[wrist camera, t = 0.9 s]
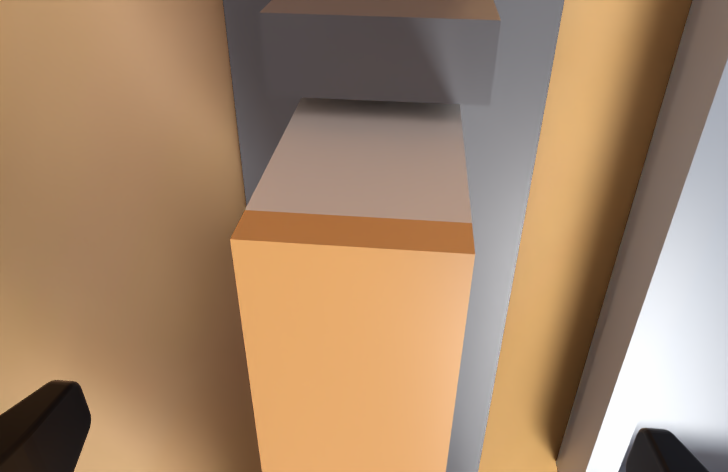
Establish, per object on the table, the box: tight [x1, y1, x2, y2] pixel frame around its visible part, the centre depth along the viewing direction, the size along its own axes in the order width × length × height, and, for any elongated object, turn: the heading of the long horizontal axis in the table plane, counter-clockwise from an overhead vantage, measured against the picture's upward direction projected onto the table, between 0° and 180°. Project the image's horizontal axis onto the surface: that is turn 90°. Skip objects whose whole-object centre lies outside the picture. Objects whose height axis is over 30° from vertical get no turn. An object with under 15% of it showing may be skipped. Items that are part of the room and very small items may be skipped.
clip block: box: [223, 0, 564, 472], centre depth 18 cm, size 21×8×4 cm, turn 0°
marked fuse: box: [230, 98, 475, 472], centre depth 13 cm, size 6×3×8 cm, turn 0°
